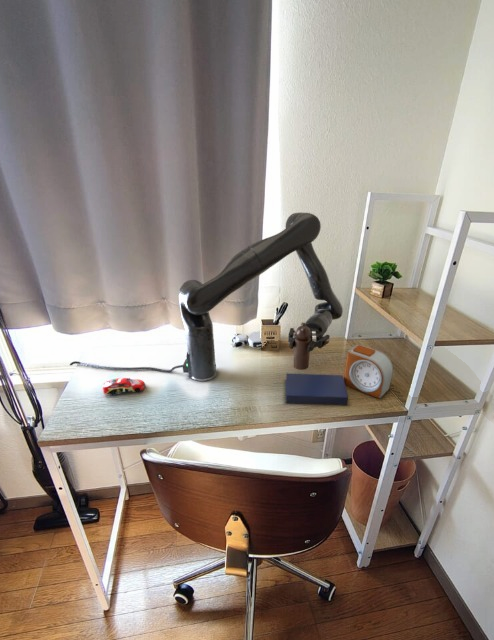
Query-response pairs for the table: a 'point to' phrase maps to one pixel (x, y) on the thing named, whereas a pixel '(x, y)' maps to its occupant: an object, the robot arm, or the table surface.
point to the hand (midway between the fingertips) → (299, 347)
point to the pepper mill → (301, 347)
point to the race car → (123, 386)
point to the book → (316, 389)
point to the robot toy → (247, 340)
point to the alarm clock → (368, 370)
